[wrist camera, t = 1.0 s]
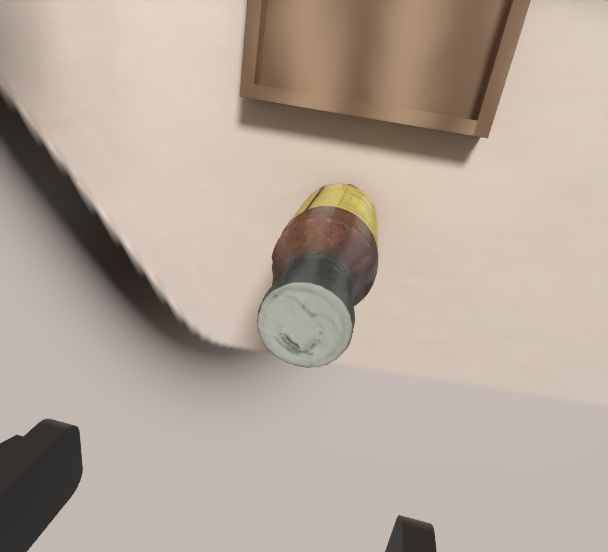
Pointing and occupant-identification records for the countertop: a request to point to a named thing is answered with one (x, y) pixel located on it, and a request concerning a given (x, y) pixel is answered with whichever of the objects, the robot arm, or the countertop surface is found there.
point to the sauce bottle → (320, 276)
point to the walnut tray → (384, 58)
